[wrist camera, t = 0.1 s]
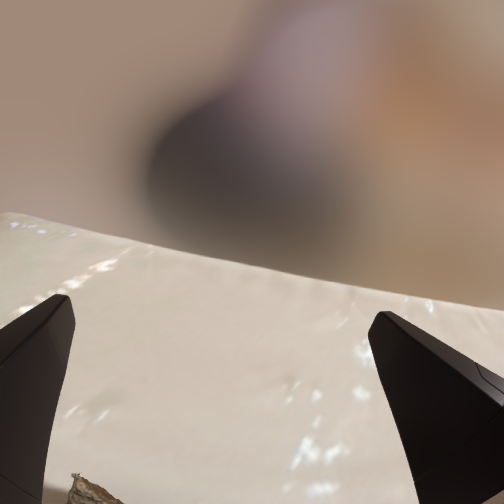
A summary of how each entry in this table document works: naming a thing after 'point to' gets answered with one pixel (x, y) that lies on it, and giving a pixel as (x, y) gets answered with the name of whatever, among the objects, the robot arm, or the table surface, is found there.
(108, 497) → the rock sample
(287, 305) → the table surface
